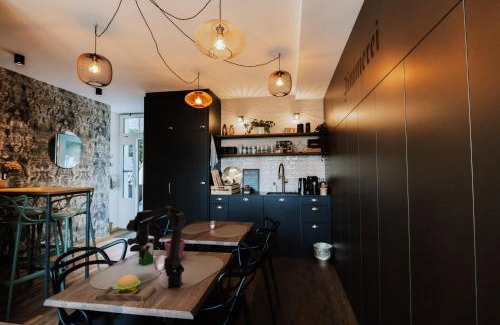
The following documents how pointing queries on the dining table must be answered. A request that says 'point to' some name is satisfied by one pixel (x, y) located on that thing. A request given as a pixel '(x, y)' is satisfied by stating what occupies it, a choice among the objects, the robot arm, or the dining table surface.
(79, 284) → the dining table surface
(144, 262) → the milk carton
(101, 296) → the frame
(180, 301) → the dining table surface
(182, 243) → the plant pot
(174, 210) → the robot arm
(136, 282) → the hamburger
